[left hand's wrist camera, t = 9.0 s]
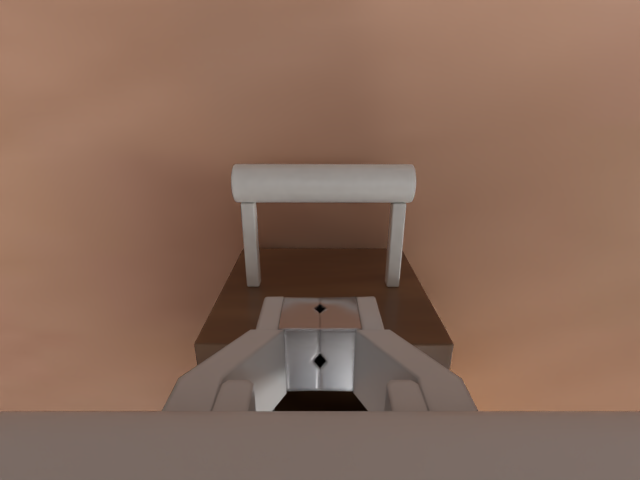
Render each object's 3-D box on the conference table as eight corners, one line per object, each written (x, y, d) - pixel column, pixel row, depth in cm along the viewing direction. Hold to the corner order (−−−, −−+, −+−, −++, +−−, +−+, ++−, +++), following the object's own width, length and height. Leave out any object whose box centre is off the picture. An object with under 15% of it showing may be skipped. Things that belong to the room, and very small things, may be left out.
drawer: (235, 150, 20) (170, 188, 11) (410, 150, 20) (479, 188, 11) (260, 464, 28) (235, 622, 20) (382, 464, 28) (409, 622, 20)
